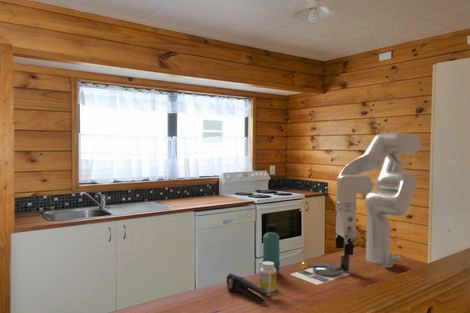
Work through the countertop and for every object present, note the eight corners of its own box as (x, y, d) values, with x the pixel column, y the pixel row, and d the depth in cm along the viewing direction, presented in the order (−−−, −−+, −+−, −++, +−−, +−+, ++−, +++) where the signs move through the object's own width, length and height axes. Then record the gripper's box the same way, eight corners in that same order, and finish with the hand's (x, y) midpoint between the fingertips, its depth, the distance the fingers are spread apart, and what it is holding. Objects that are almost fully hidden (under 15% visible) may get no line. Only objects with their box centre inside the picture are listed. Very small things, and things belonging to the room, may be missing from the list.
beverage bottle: (278, 280, 129) (279, 227, 129) (261, 279, 131) (262, 225, 131) (280, 274, 136) (281, 223, 136) (263, 273, 137) (264, 222, 137)
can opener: (221, 289, 121) (221, 273, 121) (236, 285, 125) (237, 269, 125) (256, 307, 107) (257, 289, 107) (272, 301, 111) (272, 284, 111)
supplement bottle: (275, 290, 120) (275, 260, 120) (276, 296, 115) (277, 265, 115) (259, 289, 120) (259, 260, 120) (260, 296, 115) (260, 265, 115)
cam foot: (343, 266, 141) (344, 250, 141) (354, 276, 130) (354, 258, 130) (297, 266, 141) (298, 249, 141) (304, 276, 130) (304, 258, 130)
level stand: (323, 268, 144) (323, 263, 144) (350, 277, 134) (350, 272, 134) (289, 278, 132) (289, 273, 132) (316, 289, 122) (317, 283, 122)
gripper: (364, 210, 127) (362, 257, 127) (347, 204, 144) (345, 246, 144) (344, 209, 127) (342, 256, 127) (329, 204, 144) (327, 245, 144)
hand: (343, 251), depth 135 cm, fingers open, 9 cm apart
